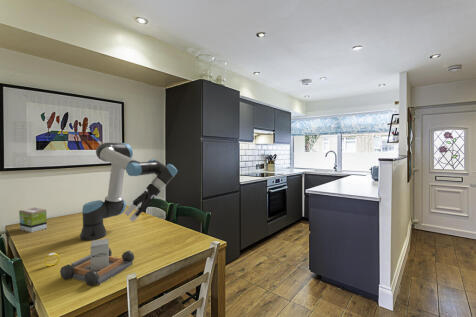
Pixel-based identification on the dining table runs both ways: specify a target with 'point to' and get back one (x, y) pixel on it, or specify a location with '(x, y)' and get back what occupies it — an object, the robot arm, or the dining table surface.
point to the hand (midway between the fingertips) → (128, 217)
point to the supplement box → (99, 254)
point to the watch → (50, 256)
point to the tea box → (33, 219)
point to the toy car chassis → (91, 277)
